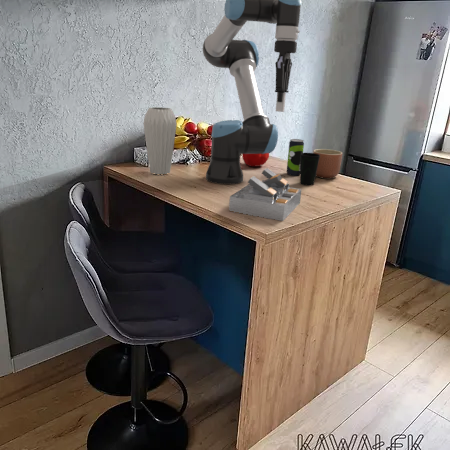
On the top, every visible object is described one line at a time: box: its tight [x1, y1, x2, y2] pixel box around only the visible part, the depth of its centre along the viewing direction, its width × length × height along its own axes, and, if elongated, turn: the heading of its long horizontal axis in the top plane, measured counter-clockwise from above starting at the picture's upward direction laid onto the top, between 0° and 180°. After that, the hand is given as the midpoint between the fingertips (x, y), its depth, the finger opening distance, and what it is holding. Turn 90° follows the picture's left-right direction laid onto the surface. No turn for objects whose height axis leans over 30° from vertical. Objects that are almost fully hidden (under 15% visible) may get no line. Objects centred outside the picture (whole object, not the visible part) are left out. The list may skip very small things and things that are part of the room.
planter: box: [312, 148, 343, 179], centre depth 198 cm, size 12×12×11 cm
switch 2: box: [247, 175, 277, 197], centre depth 144 cm, size 9×4×2 cm, turn 67°
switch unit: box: [228, 179, 302, 222], centre depth 153 cm, size 18×22×6 cm
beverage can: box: [286, 138, 305, 177], centre depth 198 cm, size 6×6×15 cm
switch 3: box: [261, 167, 289, 187], centre depth 157 cm, size 9×4×2 cm, turn 67°
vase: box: [143, 106, 177, 174], centre depth 186 cm, size 13×13×26 cm
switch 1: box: [253, 173, 283, 188], centre depth 151 cm, size 9×4×2 cm, turn 67°
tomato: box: [241, 153, 270, 167], centre depth 211 cm, size 13×12×11 cm
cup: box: [299, 152, 320, 187], centre depth 184 cm, size 8×8×12 cm
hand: (279, 111), depth 163 cm, fingers closed
